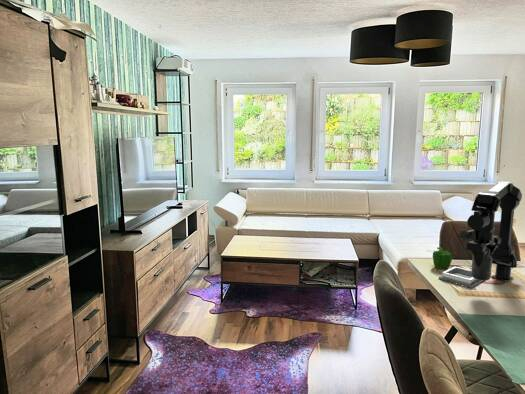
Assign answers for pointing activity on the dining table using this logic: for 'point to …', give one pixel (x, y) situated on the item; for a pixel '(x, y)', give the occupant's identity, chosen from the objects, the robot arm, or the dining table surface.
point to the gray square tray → (459, 277)
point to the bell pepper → (442, 259)
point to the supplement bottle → (482, 267)
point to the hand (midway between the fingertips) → (481, 264)
